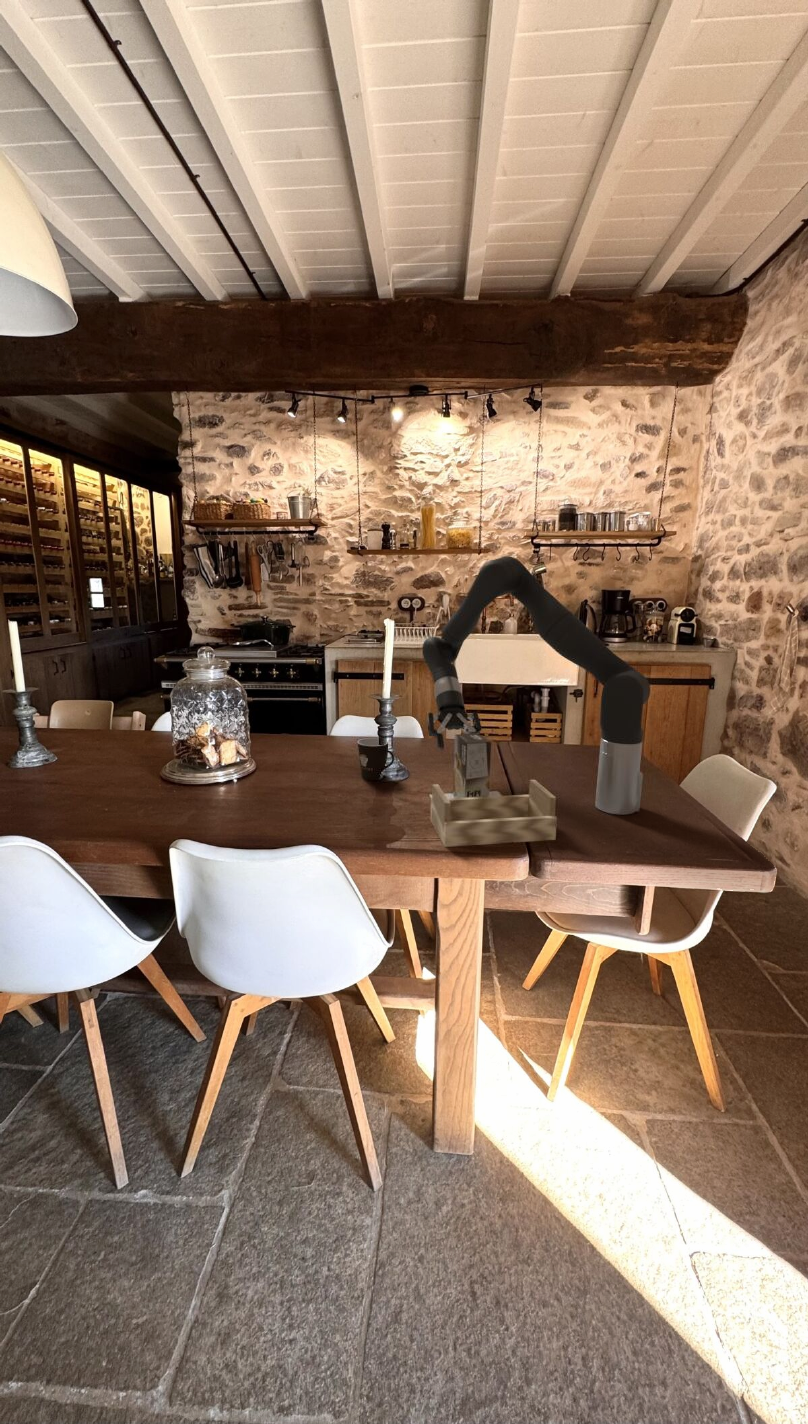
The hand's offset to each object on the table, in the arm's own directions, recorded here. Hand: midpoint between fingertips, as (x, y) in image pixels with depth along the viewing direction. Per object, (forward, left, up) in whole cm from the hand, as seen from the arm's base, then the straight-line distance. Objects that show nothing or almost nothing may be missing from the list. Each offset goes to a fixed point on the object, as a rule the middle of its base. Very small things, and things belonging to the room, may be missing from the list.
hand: (458, 747), depth 154 cm
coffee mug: (+21, -9, -11) cm, 25 cm away
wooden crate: (0, +29, -10) cm, 31 cm away
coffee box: (0, +13, -10) cm, 16 cm away
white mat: (0, +13, -10) cm, 17 cm away
